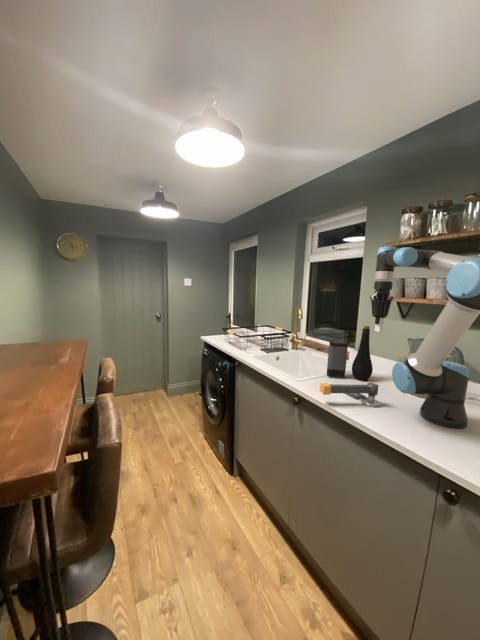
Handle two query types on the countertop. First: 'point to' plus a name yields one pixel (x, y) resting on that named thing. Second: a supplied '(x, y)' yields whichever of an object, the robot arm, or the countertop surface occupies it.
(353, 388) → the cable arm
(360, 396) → the power supply label
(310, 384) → the countertop surface
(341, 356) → the electronic device
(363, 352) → the bottle
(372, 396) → the pivot post
